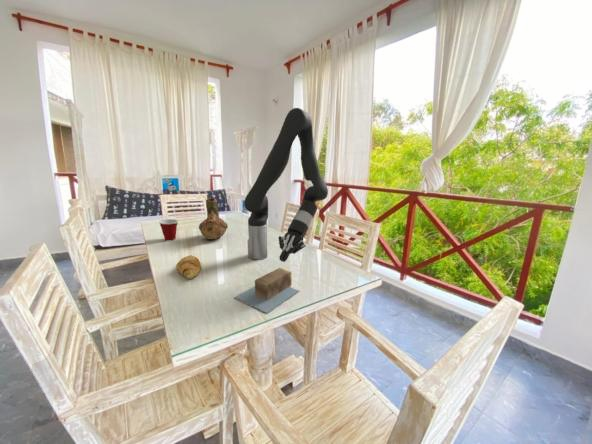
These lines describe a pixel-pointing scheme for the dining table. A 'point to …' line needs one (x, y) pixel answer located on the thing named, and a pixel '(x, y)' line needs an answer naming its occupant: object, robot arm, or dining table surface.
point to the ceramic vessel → (213, 221)
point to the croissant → (189, 266)
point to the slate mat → (264, 304)
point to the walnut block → (272, 283)
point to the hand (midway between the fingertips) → (281, 260)
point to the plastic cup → (169, 228)
